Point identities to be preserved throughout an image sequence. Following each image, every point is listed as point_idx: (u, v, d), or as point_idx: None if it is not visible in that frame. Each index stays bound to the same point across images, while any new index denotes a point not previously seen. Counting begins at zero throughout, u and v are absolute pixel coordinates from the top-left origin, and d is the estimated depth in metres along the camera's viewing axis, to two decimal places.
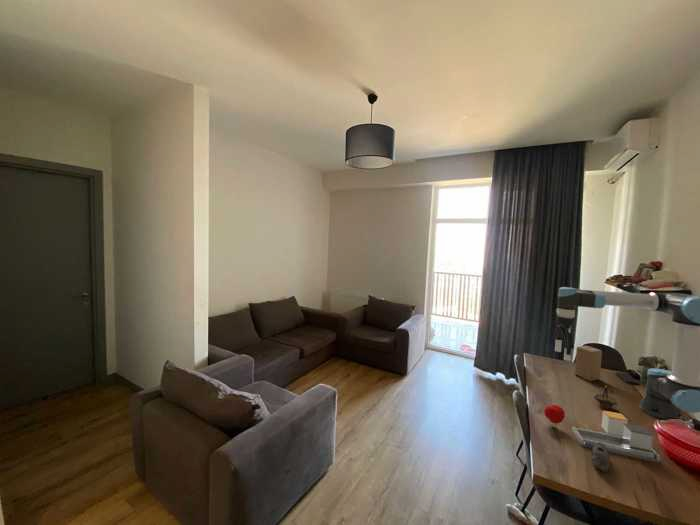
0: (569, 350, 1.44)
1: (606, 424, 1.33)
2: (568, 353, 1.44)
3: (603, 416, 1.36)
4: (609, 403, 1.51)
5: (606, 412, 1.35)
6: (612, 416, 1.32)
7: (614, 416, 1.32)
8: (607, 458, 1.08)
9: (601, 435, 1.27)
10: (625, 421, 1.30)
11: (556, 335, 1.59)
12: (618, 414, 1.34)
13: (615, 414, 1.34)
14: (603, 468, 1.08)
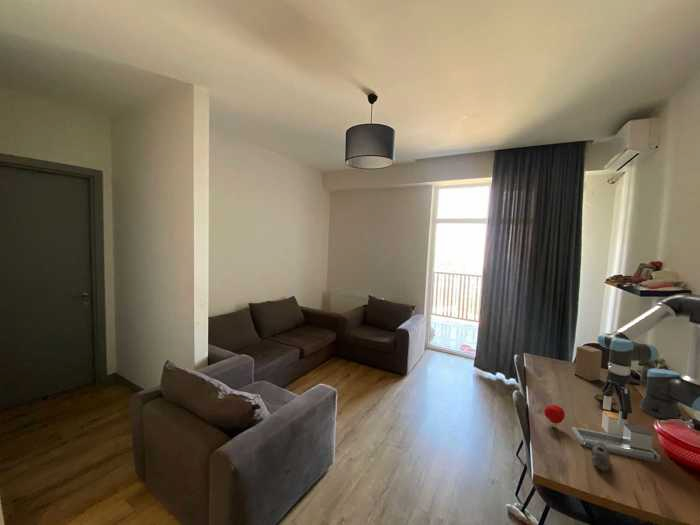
0: (625, 414, 1.25)
1: (606, 424, 1.33)
2: (624, 417, 1.25)
3: (603, 416, 1.36)
4: None
5: (606, 412, 1.35)
6: (612, 416, 1.32)
7: (614, 416, 1.32)
8: (607, 458, 1.08)
9: (601, 435, 1.27)
10: None
11: (605, 391, 1.39)
12: (618, 414, 1.34)
13: (615, 414, 1.34)
14: (603, 468, 1.08)
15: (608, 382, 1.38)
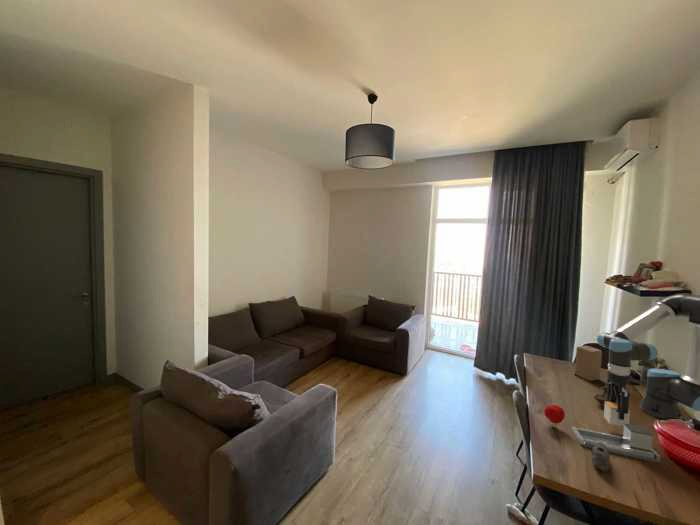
0: (622, 415, 1.28)
1: (608, 414, 1.33)
2: (621, 418, 1.29)
3: (605, 407, 1.36)
4: None
5: (608, 403, 1.35)
6: (614, 406, 1.32)
7: (616, 406, 1.32)
8: (607, 458, 1.08)
9: (601, 435, 1.27)
10: None
11: (609, 397, 1.37)
12: None
13: None
14: (603, 468, 1.08)
15: (610, 385, 1.37)
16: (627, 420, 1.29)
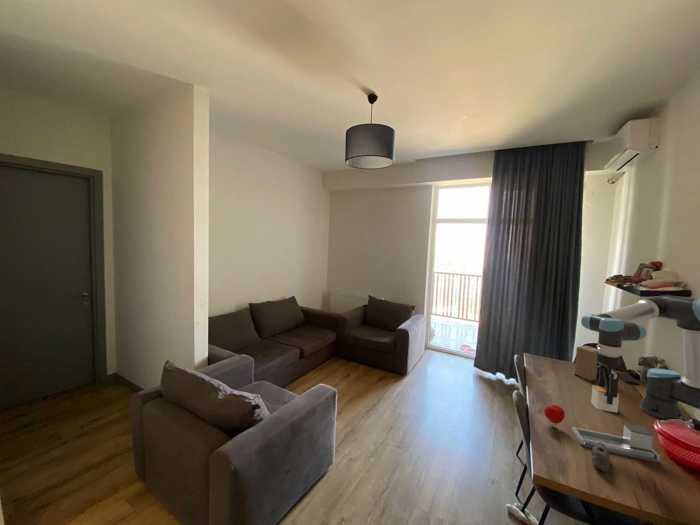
0: (610, 399, 1.19)
1: (596, 399, 1.23)
2: (609, 402, 1.19)
3: (593, 391, 1.26)
4: None
5: (596, 386, 1.25)
6: (602, 390, 1.22)
7: (605, 390, 1.22)
8: (607, 458, 1.08)
9: (601, 435, 1.27)
10: None
11: (597, 381, 1.27)
12: None
13: None
14: (603, 468, 1.08)
15: (599, 369, 1.28)
16: (616, 405, 1.20)
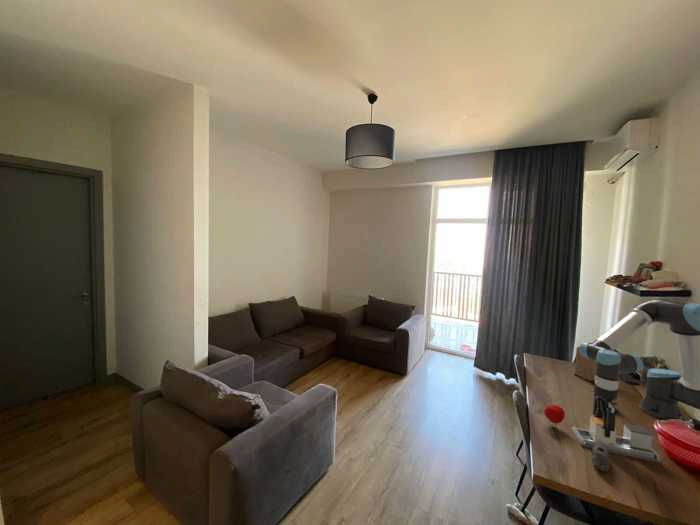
0: (608, 432, 1.20)
1: (593, 431, 1.24)
2: (607, 435, 1.20)
3: (590, 422, 1.27)
4: None
5: (594, 418, 1.26)
6: (600, 423, 1.23)
7: (602, 422, 1.23)
8: (607, 458, 1.08)
9: None
10: None
11: (595, 412, 1.28)
12: None
13: None
14: (603, 468, 1.08)
15: (596, 400, 1.28)
16: (613, 438, 1.21)
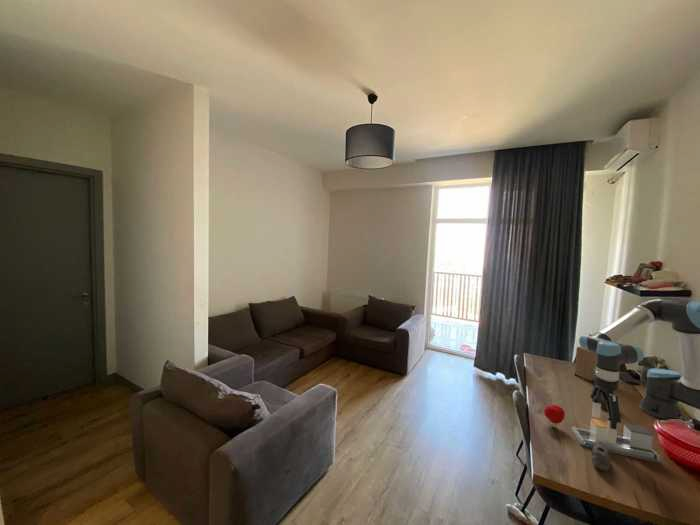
0: (614, 424, 1.16)
1: (594, 433, 1.24)
2: (613, 427, 1.16)
3: (591, 424, 1.27)
4: None
5: (594, 420, 1.26)
6: (600, 425, 1.23)
7: (603, 424, 1.23)
8: (607, 458, 1.08)
9: None
10: None
11: (593, 397, 1.30)
12: (607, 422, 1.25)
13: (604, 422, 1.25)
14: (603, 468, 1.08)
15: (596, 388, 1.29)
16: (613, 440, 1.21)
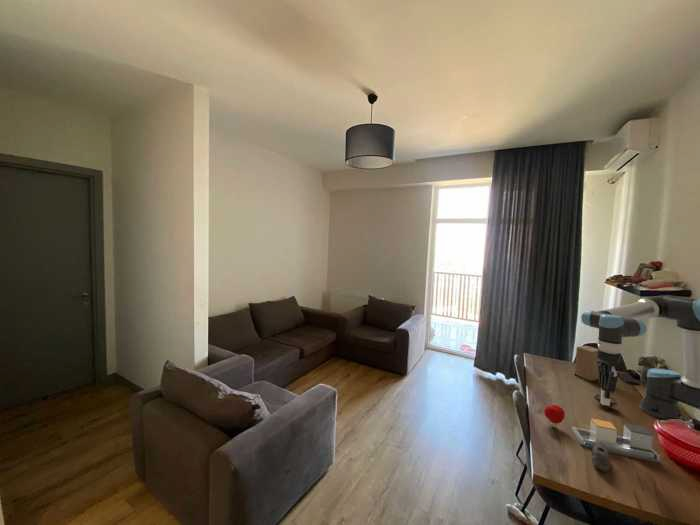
0: (608, 393, 1.21)
1: (594, 433, 1.24)
2: (607, 397, 1.22)
3: (591, 424, 1.27)
4: None
5: (594, 420, 1.26)
6: (600, 425, 1.23)
7: (603, 424, 1.23)
8: (607, 458, 1.08)
9: None
10: (614, 430, 1.20)
11: (601, 381, 1.25)
12: (607, 422, 1.25)
13: (604, 422, 1.25)
14: (603, 468, 1.08)
15: (600, 367, 1.27)
16: (613, 440, 1.21)
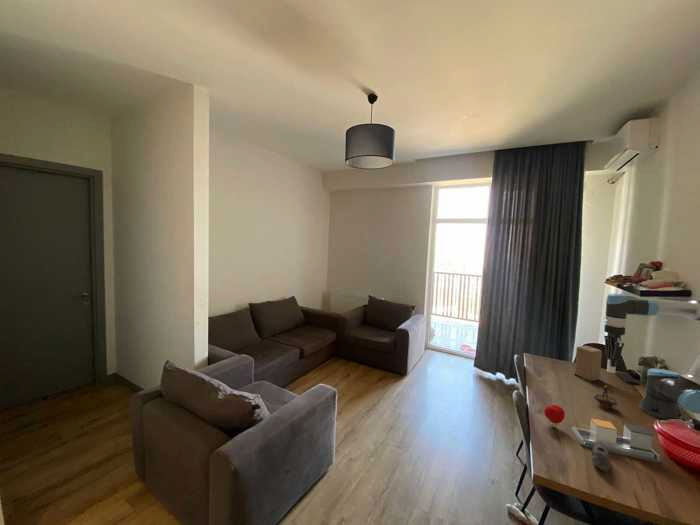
0: (614, 362, 1.40)
1: (594, 433, 1.24)
2: (613, 365, 1.40)
3: (591, 424, 1.27)
4: (609, 403, 1.51)
5: (594, 420, 1.26)
6: (600, 425, 1.23)
7: (603, 424, 1.23)
8: (607, 458, 1.08)
9: None
10: (614, 430, 1.20)
11: (607, 352, 1.43)
12: (607, 422, 1.25)
13: (604, 422, 1.25)
14: (603, 468, 1.08)
15: None
16: (613, 440, 1.21)
